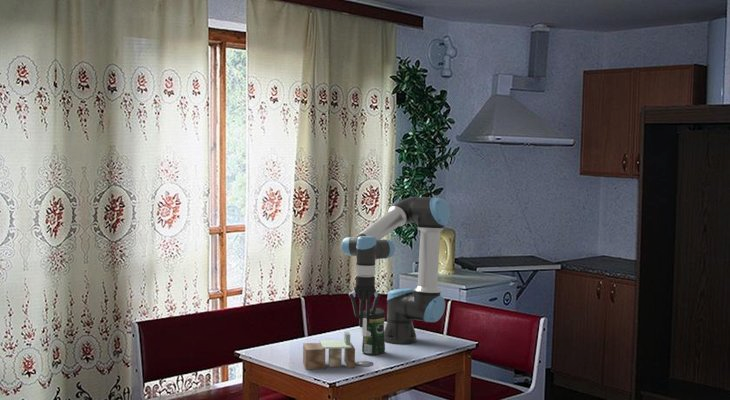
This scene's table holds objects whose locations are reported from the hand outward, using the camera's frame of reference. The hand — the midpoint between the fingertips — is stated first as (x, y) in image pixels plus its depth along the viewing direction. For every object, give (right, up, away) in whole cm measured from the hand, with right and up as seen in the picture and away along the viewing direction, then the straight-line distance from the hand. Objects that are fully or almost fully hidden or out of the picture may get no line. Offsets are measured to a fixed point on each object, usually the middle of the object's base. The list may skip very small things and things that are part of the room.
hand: (363, 335), depth 310 cm
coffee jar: (+4, -11, +20) cm, 23 cm away
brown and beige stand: (-14, -11, -2) cm, 18 cm away
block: (-11, -11, -1) cm, 16 cm away
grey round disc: (0, -11, +1) cm, 11 cm away
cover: (-11, -4, -2) cm, 12 cm away
